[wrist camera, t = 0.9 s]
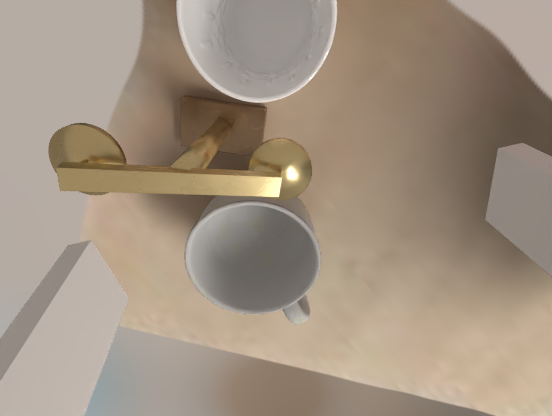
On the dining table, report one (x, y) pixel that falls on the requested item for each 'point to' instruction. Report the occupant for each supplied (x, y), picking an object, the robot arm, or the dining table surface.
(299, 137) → the dining table surface
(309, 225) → the teacup
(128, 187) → the balance
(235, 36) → the white cup
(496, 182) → the robot arm
